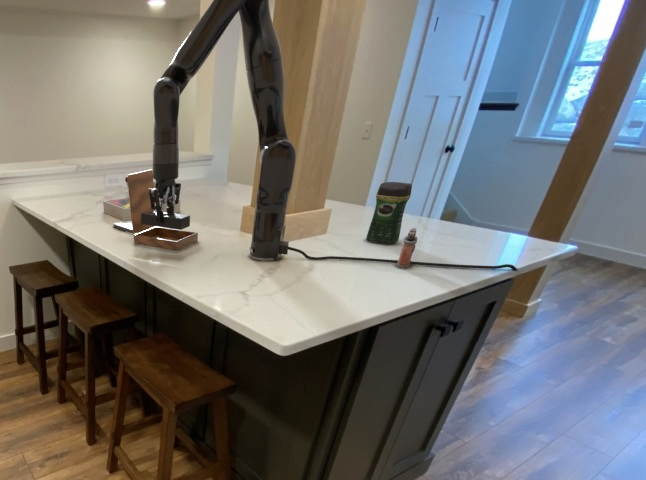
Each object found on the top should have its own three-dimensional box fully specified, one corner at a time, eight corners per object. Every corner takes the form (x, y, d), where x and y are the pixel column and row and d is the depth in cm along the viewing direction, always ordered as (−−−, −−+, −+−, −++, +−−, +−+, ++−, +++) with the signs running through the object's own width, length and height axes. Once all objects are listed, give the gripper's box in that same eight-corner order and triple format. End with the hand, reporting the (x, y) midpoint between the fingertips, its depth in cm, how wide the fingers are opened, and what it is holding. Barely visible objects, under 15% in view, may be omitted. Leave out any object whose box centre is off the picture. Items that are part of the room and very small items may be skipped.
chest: (197, 242, 158) (198, 232, 156) (176, 252, 149) (176, 241, 147) (156, 236, 168) (155, 226, 166) (134, 245, 159) (133, 234, 157)
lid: (152, 169, 156) (140, 170, 159) (128, 174, 147) (116, 175, 150) (156, 225, 166) (145, 225, 169) (134, 233, 157) (122, 233, 160)
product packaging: (180, 212, 201) (180, 200, 198) (125, 221, 191) (124, 208, 188) (155, 204, 217) (155, 193, 215) (103, 212, 207) (103, 201, 204)
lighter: (408, 269, 127) (419, 233, 122) (395, 267, 129) (405, 232, 123) (410, 261, 133) (421, 227, 127) (398, 260, 134) (408, 225, 129)
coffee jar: (400, 241, 150) (417, 181, 140) (391, 246, 146) (408, 185, 136) (371, 236, 156) (385, 179, 146) (361, 241, 152) (376, 182, 142)
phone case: (112, 227, 183) (131, 234, 171) (112, 223, 182) (131, 230, 170) (130, 224, 187) (151, 231, 175) (130, 220, 186) (150, 226, 174)
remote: (189, 226, 136) (190, 214, 134) (180, 229, 133) (181, 217, 131) (150, 220, 144) (150, 209, 142) (141, 223, 141) (140, 212, 139)
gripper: (162, 164, 122) (161, 228, 131) (189, 158, 131) (187, 218, 141) (140, 163, 126) (141, 225, 135) (168, 157, 135) (168, 215, 145)
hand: (165, 221), depth 138 cm, fingers closed on remote, 5 cm apart
